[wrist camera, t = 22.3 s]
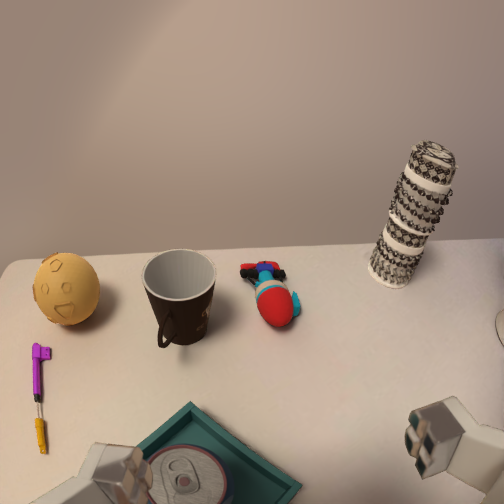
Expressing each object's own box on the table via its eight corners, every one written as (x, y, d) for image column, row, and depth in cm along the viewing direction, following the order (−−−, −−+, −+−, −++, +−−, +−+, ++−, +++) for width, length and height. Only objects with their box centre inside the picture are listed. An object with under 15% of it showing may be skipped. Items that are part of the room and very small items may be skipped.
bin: (295, 489, 26) (303, 485, 24) (203, 580, 17) (201, 586, 14) (192, 412, 32) (190, 400, 30) (99, 487, 23) (88, 482, 21)
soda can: (240, 516, 23) (251, 510, 15) (174, 532, 20) (150, 534, 13) (216, 460, 28) (215, 426, 20) (153, 475, 25) (123, 446, 18)
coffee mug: (181, 293, 47) (177, 240, 40) (227, 322, 43) (231, 269, 37) (124, 341, 39) (107, 290, 32) (172, 379, 35) (161, 332, 29)
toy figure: (234, 274, 53) (253, 337, 40) (238, 248, 51) (258, 308, 38) (278, 274, 55) (306, 334, 42) (283, 249, 53) (315, 306, 40)
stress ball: (75, 280, 46) (59, 230, 39) (119, 303, 44) (105, 250, 37) (36, 320, 38) (10, 271, 32) (78, 351, 36) (52, 300, 30)
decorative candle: (409, 297, 50) (470, 168, 34) (362, 279, 53) (412, 143, 37) (411, 266, 57) (459, 150, 41) (369, 251, 59) (409, 130, 44)
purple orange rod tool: (33, 346, 35) (40, 454, 24) (31, 341, 34) (37, 452, 23) (50, 346, 36) (60, 454, 25) (49, 341, 35) (58, 452, 24)
